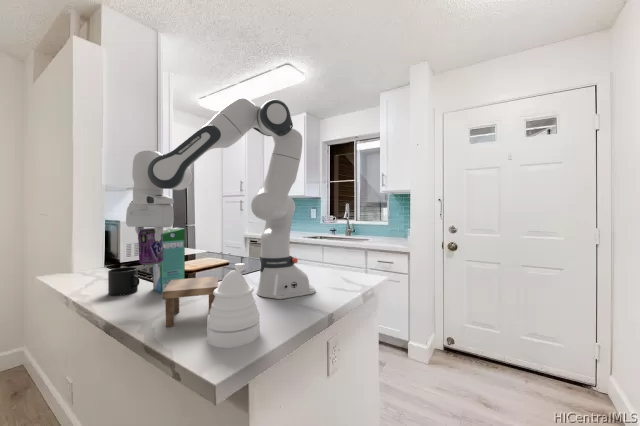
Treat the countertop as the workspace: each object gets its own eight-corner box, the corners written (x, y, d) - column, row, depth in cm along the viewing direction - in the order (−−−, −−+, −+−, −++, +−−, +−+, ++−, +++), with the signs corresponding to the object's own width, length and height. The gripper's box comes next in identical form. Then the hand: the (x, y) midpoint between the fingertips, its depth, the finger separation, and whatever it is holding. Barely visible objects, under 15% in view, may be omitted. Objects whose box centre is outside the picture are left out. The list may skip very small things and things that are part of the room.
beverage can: (146, 266, 91) (145, 229, 91) (135, 265, 94) (133, 229, 94) (168, 262, 97) (166, 227, 97) (156, 261, 100) (155, 227, 100)
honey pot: (237, 321, 81) (237, 259, 81) (270, 332, 74) (269, 264, 74) (196, 338, 70) (195, 266, 70) (229, 353, 63) (228, 273, 63)
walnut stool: (218, 306, 94) (217, 276, 94) (217, 321, 81) (217, 286, 81) (171, 311, 90) (171, 279, 90) (162, 328, 76) (162, 291, 76)
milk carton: (153, 289, 115) (152, 228, 115) (176, 284, 122) (176, 227, 121) (160, 293, 109) (160, 229, 109) (185, 288, 116) (184, 227, 115)
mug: (128, 297, 104) (128, 272, 104) (101, 295, 107) (101, 271, 107) (148, 290, 114) (148, 267, 114) (123, 288, 116) (123, 266, 116)
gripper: (120, 200, 97) (120, 240, 97) (159, 198, 88) (160, 242, 88) (138, 200, 103) (139, 238, 103) (177, 198, 94) (177, 240, 94)
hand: (149, 240), depth 95 cm, fingers closed on beverage can, 7 cm apart
